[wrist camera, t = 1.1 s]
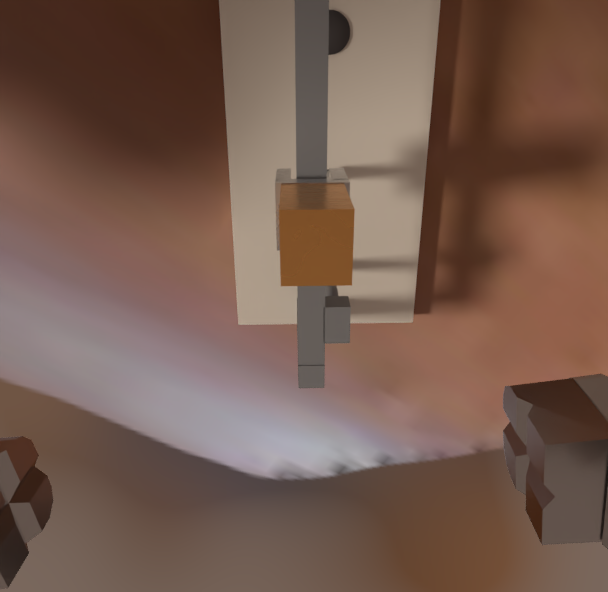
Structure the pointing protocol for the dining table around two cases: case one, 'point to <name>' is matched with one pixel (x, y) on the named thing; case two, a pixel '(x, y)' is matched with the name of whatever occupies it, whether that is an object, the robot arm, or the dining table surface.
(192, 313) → the dining table surface
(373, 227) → the hole plate
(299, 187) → the leg
